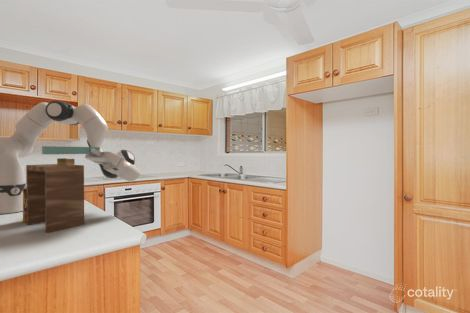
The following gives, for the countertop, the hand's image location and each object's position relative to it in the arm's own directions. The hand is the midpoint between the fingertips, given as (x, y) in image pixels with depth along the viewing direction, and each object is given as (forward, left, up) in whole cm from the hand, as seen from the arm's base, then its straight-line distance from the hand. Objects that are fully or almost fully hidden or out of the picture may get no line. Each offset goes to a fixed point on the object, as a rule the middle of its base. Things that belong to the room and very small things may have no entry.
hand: (87, 149), depth 115 cm
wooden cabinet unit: (-5, -11, -33) cm, 35 cm away
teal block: (0, -6, -2) cm, 7 cm away
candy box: (-20, -13, -33) cm, 41 cm away
